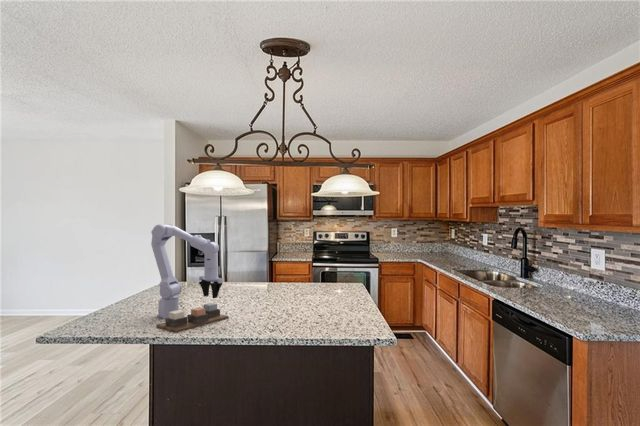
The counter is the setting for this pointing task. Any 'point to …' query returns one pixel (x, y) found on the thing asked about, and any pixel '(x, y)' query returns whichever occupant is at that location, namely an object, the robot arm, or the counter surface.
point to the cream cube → (176, 315)
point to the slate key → (210, 306)
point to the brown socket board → (191, 321)
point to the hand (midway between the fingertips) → (210, 297)
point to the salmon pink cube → (198, 311)
